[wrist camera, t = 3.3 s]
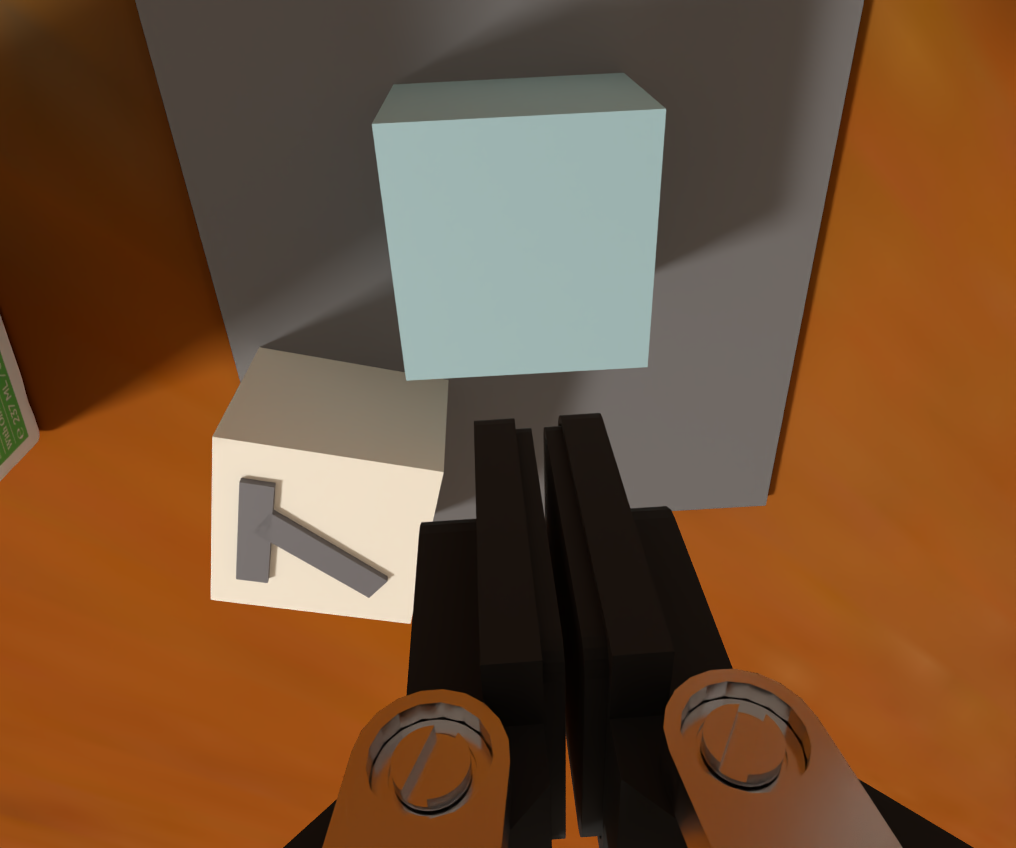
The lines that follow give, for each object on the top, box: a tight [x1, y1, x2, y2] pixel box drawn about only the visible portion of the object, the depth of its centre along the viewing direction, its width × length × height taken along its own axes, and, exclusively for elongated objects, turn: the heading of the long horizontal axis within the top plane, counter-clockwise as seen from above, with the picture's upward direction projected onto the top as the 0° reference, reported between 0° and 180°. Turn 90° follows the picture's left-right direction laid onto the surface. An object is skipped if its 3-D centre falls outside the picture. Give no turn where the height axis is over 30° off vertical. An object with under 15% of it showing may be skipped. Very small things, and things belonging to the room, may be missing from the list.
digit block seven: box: [211, 347, 448, 624], centre depth 23 cm, size 6×6×5 cm
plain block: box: [372, 73, 666, 381], centre depth 19 cm, size 6×6×5 cm
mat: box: [135, 0, 864, 521], centre depth 21 cm, size 18×24×1 cm
